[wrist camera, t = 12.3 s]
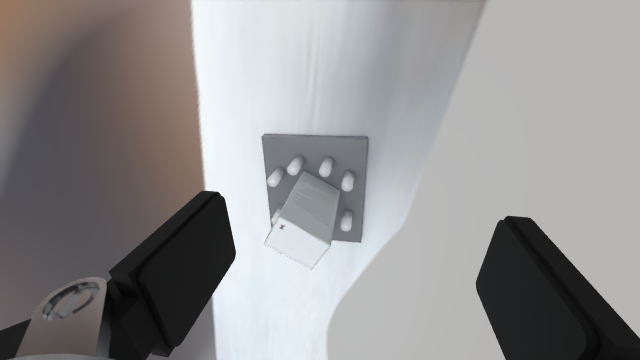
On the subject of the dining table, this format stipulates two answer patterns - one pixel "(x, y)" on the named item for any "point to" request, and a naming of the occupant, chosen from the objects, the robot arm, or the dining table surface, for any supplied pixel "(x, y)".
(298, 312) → the dining table surface
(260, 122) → the dining table surface
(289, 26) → the dining table surface
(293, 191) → the skincare box
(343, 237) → the peg board
